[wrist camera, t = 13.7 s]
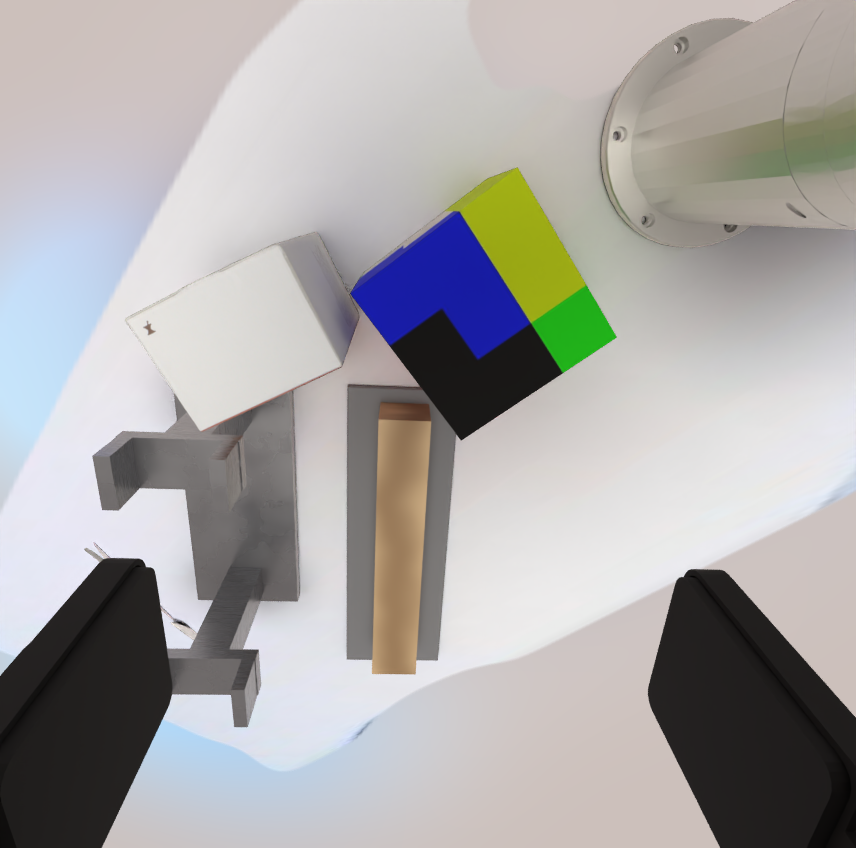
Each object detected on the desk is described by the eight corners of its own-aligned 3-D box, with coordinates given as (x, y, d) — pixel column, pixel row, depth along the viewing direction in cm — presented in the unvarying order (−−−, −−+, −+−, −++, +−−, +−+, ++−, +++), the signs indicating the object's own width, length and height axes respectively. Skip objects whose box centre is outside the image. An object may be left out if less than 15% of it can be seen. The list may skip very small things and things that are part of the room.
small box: (261, 365, 39) (197, 436, 27) (211, 282, 37) (117, 318, 24) (363, 317, 38) (345, 367, 26) (319, 228, 36) (276, 238, 24)
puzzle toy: (363, 272, 37) (350, 293, 28) (487, 178, 35) (517, 167, 26) (447, 386, 40) (461, 440, 31) (565, 306, 38) (616, 337, 29)
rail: (428, 404, 40) (431, 421, 36) (414, 642, 48) (415, 674, 44) (380, 402, 40) (378, 419, 36) (374, 642, 47) (372, 673, 44)
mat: (458, 389, 40) (459, 391, 40) (437, 655, 49) (437, 660, 49) (348, 384, 40) (347, 387, 39) (347, 654, 49) (346, 659, 48)
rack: (292, 375, 39) (241, 451, 27) (299, 593, 46) (262, 733, 34) (177, 371, 39) (72, 446, 26) (202, 591, 46) (128, 732, 33)
